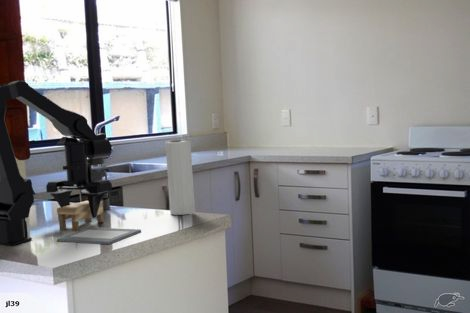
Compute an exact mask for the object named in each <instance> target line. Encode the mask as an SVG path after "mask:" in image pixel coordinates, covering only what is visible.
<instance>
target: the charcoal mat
mask: <svg viewBox="0 0 470 313" xmlns="http://www.w3.org/2000/svg"><path fill="white" fill-rule="evenodd" d="M139 233H142V230H141V229H135V228H133V229H132V228H131V229H130V228H117V227H115V228H114V227H113V228H112V227H110V228H109V227H91V226H90V227H88V228H85V229H82V230H78V231H75V232H73V233H70V234H67V235H64V236H61V237H58V238H56V242H64V241H69V242H68V243H81V242H85V243H86V244H97V243H99V244H101V245H111V244H113V243H117V242H119V241H122V240H123V239H126V238H129V237H131V236H134V235H137V234H139Z"/></svg>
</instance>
